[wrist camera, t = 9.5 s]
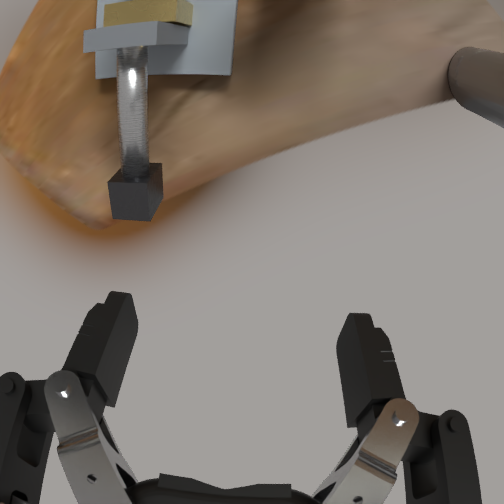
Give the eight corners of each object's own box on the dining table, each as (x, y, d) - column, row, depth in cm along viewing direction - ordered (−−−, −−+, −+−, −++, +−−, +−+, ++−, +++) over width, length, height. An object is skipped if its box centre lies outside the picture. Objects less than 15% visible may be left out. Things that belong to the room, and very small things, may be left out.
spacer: (193, 5, 25) (177, -5, 20) (191, 25, 27) (175, 21, 21) (131, 9, 25) (104, 4, 19) (130, 29, 27) (103, 28, 21)
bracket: (241, -36, 24) (232, -74, 13) (231, 73, 32) (216, 87, 21) (107, -25, 23) (46, -41, 13) (102, 76, 31) (41, 98, 21)
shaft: (162, 37, 23) (144, 37, 19) (163, 197, 33) (150, 221, 29) (123, 41, 23) (99, 42, 19) (129, 195, 33) (112, 218, 29)
